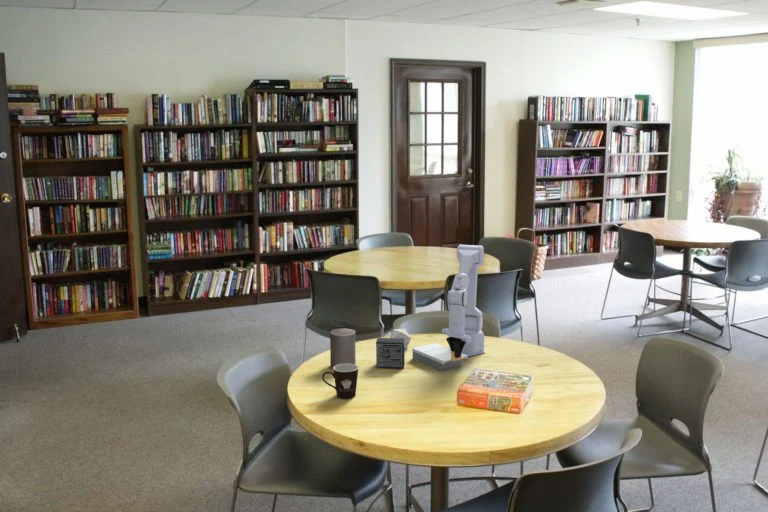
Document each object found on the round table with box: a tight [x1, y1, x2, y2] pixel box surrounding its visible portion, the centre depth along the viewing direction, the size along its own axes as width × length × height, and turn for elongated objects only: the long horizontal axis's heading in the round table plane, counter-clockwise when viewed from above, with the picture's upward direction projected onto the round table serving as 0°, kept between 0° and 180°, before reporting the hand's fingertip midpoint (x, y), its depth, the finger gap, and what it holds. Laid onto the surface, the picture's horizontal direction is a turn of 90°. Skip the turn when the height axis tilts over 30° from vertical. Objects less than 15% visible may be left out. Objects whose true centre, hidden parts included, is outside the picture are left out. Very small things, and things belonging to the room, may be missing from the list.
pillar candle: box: [329, 327, 357, 370], centre depth 286 cm, size 10×10×15 cm
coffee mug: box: [321, 364, 359, 400], centre depth 257 cm, size 12×9×10 cm
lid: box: [412, 342, 468, 364], centre depth 289 cm, size 12×20×4 cm, turn 35°
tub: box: [412, 351, 463, 372], centre depth 291 cm, size 10×18×4 cm, turn 35°
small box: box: [375, 337, 406, 370], centre depth 287 cm, size 11×6×10 cm, turn 84°
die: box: [389, 328, 412, 350], centre depth 309 cm, size 8×9×10 cm
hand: (456, 356), depth 281 cm, fingers closed on lid
